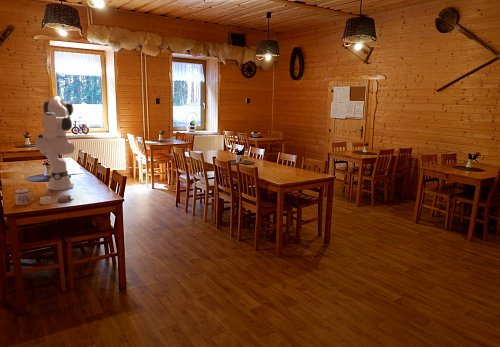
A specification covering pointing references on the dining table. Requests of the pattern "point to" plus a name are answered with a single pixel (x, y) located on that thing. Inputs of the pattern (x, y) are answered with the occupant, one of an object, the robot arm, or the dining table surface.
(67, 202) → the mat
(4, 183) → the dining table surface
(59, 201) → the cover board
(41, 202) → the bowl
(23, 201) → the teacup with lid
